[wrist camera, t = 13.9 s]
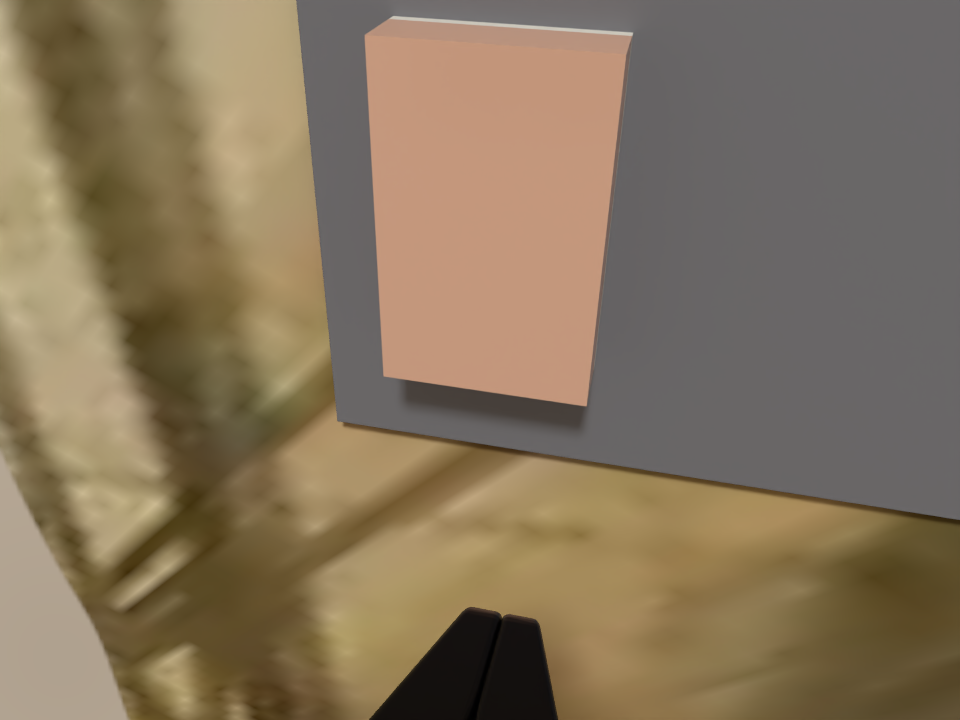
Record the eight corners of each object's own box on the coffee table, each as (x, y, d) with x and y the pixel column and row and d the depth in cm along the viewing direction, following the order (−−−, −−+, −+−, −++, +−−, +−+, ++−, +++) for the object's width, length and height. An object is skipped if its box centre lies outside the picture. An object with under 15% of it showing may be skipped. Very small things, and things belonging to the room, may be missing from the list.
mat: (1413, -267, 12) (1432, -269, 12) (1009, 517, 21) (1015, 528, 21) (279, -273, 15) (269, -275, 15) (342, 412, 24) (337, 420, 24)
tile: (626, 53, 15) (364, 34, 16) (586, 406, 20) (383, 376, 20) (633, 32, 17) (392, 16, 17) (595, 365, 21) (405, 338, 22)
